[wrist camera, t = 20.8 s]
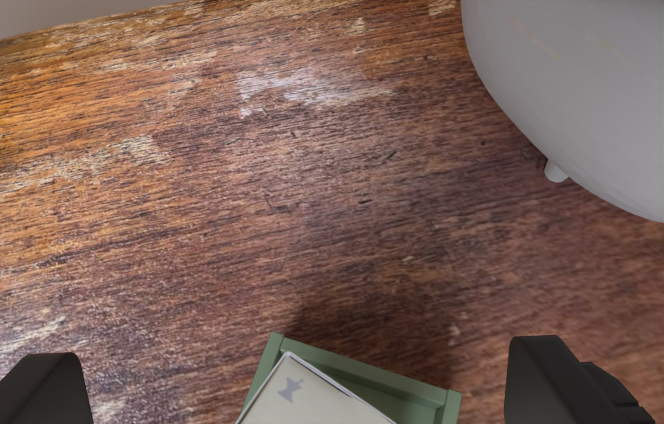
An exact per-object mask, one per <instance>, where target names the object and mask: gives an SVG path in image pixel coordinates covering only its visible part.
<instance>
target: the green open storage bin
mask: <svg viewBox="0 0 664 424" xmlns="http://www.w3.org/2000/svg"><path fill="white" fill-rule="evenodd" d="M286 351H291V352H293V353H294V354H296V355H297V356H298V357H300V358H301V359H303V360H304V361H306V362H307V363H309V364H311V365H312V366H314V367H315V368H317V369H318V370H320V371H321V372H323V373H324V374H326V375H327V376H329V377H330V378H332V379H333V380H335V381H336V382H338V383H339V384H341V385H342V386H344V387H345V388H347V389H348V390H350V391H351V392H352V393H354V394H355V395H357V396H358V397H360V398H361V399H363V400H364V401H366V402H367V403H369V404H370V405H372V406H373V407H375V408H376V409H378V410H379V411H380V412H382V413H383V414H385V415H386V416H387V417H389V418H390V419H391V420H393V421H394V422H396V423H397V424H457V420H458V415H459V410H460V405H461V400H462V393H461V392H458V391H455V390H452V389H448V390H445V389H442V388H439V387H436V386H433V385H430V384H427V383H424V382H421V381H418V380H415V379H412V378H409V377H406V376H403V375H400V374H397V373H394V372H391V371H388V370H385V369H381V368H378V367H375V366H372V365H369V364H366V363H363V362H360V361H357V360H354V359H351V358H348V357H345V356H342V355H339V354H336V353H333V352H330V351H327V350H324V349H320V348H317V347H314V346H311V345H308V344H305V343H302V342H299V341H296V340H293V339H290V338H287V337H285V336H284V334H281V333H278V332H275V331H272V332H271V333H270V336H269V339H268V341H267V344H266V347H265V349H264V352H263V355H262V357H261V360H260V363H259V365H258V368H257V370H256V373H255V376H254V378H253V381H252V384H251V386H250V389H249V392H248V394H247V397H246V400H245V402H244V405H243V407H242V410H241V413H242V412H243V410H244V409H245V408H246V406H247V405H248V403H249V402H250V400H251V399H252V397H253V396H254V394H255V393H256V392H257V391H258V389H259V388H260V386H261V385H262V383H263V382H264V381H265V379H266V378H267V377H268V375H269V374H270V372H271V371H272V369H273V368H274V367H275V366H276V364H277V363H278V362H279V360H280V359H281V357H282V356H283V354H284V353H285V352H286ZM241 413H240V414H241ZM239 416H240V415H239Z"/></svg>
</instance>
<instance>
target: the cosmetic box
mask: <svg viewBox="0 0 664 424" xmlns="http://www.w3.org/2000/svg"><path fill="white" fill-rule="evenodd" d="M234 424H397V423H396V422H394V421H393V420H391V419H390V418H389V417H387V416H386V415H385V414H383V413H382V412H380V411H379V410H378V409H376V408H375V407H373V406H372V405H370V404H369V403H367V402H366V401H364V400H363V399H361V398H360V397H358V396H357V395H355V394H354V393H352V392H351V391H350V390H348V389H347V388H345V387H344V386H342V385H341V384H339V383H338V382H336V381H335V380H333V379H332V378H330V377H329V376H327V375H326V374H324V373H323V372H321V371H320V370H318V369H317V368H315V367H314V366H312V365H311V364H309V363H307V362H306V361H304V360H303V359H301V358H300V357H298V356H297V355H296V354H294V353H293V352H291V351H286V352H285V353H284V354H283V356H282V357H281V359H280V360H279V362H278V363H277V364H276V366H275V367H274V368H273V369H272V371H271V372H270V374H269V375H268V377H267V378H266V379H265V381H264V382H263V383H262V385H261V386H260V388H259V389H258V391H257V392H256V393H255V394H254V396H253V397H252V399H251V400H250V402H249V403H248V405H247V406H246V408H245V409H244V410H243V412H242V413H241V414H240V416H239V417H238V419H237V420H236V422H235V423H234Z"/></svg>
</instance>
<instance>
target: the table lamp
mask: <svg viewBox="0 0 664 424" xmlns="http://www.w3.org/2000/svg"><path fill="white" fill-rule="evenodd" d="M461 14H462V24H463V31H464V37H465V41H466V45H467V48H468V52H469V55H470V58H471V60H472V63H473V65H474V67H475V70H476V72H477V74H478V76H479V77H480V79H481V81H482V82H483V84H484V86H485V87H486V89H487V91H488V92H489V94H490V95H491V96H492V98H493V99H494V100H495V102H496V103H497V104H498V106H499V107H500V108H501V109H502V110H503V112H504V113H505V114H506V115H507V116H508V118H509V119H510V120H511V121H512V122H513V123H514V124H515V125H516V126H517V127H518V128H519V130H520V131H521V132H522V133H523V134H524V135H525V136H526V137H527V138H528V139H529V140H530V141H531V142H532V144H533V145H535V146H536V147H537V148H538V149H539V150H540V151H541V152H542V153H543V154H544V155H545V156H546V157H547V158H548V161H547V163H546V166H545V169H544V173H545V176H546V177H547V178H548V179H549V180H550V181H552V182H556V183H559V182H562V181H564V180H565V179H567V178H568V177H570V178H571V179H572V180H573V181H574V182H576V183H577V184H579V185H580V186H582V187H583V188H585V189H586V190H588V191H589V192H591V193H593V194H594V195H596V196H598V197H599V198H601V199H603V200H605V201H607V202H609V203H611V204H613V205H615V206H616V207H619V208H621V209H623V210H625V211H628V212H630V213H632V214H634V215H637V216H640V217H643V218H646V219H649V220H652V221H657V222H662V223H664V0H461Z"/></svg>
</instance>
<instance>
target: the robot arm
mask: <svg viewBox="0 0 664 424" xmlns="http://www.w3.org/2000/svg"><path fill="white" fill-rule="evenodd" d="M504 417H505V424H655V420H654V419H653V418H652V417H651V416H650V415H649V414H648V412H647V411H646V410H645V409H644V408H643V407H639V405H638V401H637V400H636V399H635V398H634V397H633V396H632V394H631V393H630V392H629V391H628V390H627V389H626V388H625V387H624V385H623V384H622V383H621V382H620V381H619V380H618V379H616V378H615V377H613V376H612V375H610V374H609V373H607V372H605V371H604V370H602V369H601V368H599V367H598V366H596V365H595V364H593V363H591V362H579V360H578V359H577V358H576V357H575V356H574V354H573V353H572V352H571V351H570V349H569V348H568V347H567V346H566V344H565V343H564V342H563V341H562V340H561V339H560V338H559V337H558V336H557V335H540V336H515V337H513V338H512V340H511V342H510V347H509V356H508V367H507V378H506V390H505V401H504ZM0 424H94V422H93V417H92V412H91V408H90V404H89V399H88V395H87V390H86V386H85V381H84V377H83V372H82V368H81V364H80V360H79V358H78V357H77V355H76V354H75V353H72V352H65V353H39V354H28V355H26V356H25V357H23V358H22V359H21V360H20V361H19V362H18V363H17V364H16V365H15V366H14V368H13V369H12V370H11V371H10V372H9V373H8V374H7V375H6V376H5V377H4V378H3V379H2V380H1V381H0Z"/></svg>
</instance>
